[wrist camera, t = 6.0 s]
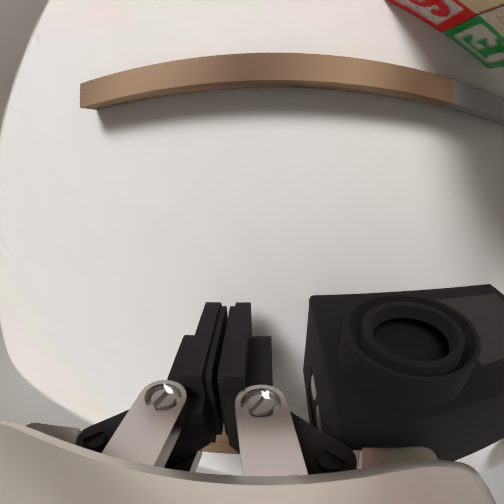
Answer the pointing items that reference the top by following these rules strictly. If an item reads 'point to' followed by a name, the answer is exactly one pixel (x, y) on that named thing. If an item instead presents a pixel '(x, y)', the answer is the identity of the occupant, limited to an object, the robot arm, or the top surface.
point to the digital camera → (408, 369)
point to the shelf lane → (265, 75)
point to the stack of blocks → (465, 24)
